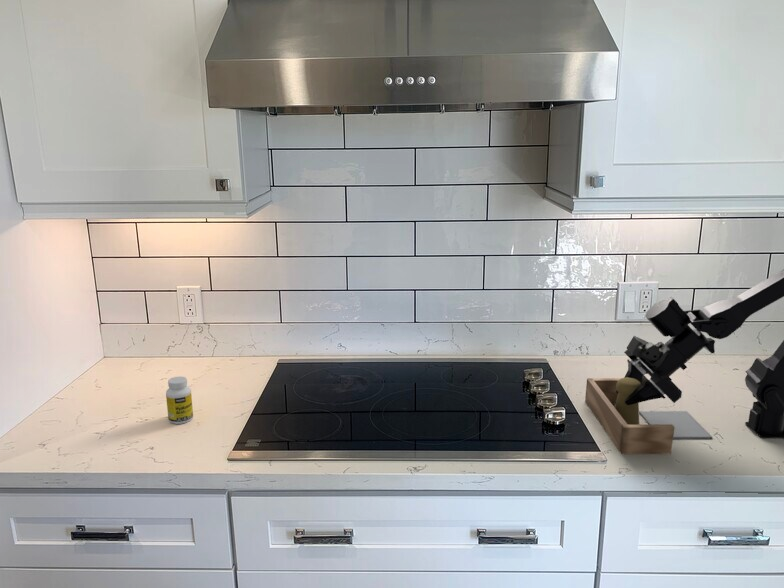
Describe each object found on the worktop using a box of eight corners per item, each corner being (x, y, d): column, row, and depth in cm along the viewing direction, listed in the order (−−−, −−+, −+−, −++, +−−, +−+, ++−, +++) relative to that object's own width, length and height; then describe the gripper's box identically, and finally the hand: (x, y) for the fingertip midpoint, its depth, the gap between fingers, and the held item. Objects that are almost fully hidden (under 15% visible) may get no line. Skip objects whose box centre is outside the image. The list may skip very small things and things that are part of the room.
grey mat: (686, 412, 145) (686, 411, 145) (712, 438, 133) (712, 436, 133) (639, 412, 145) (639, 411, 145) (660, 438, 133) (660, 437, 133)
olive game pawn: (621, 433, 136) (626, 386, 133) (605, 421, 141) (609, 375, 138) (645, 429, 137) (650, 383, 134) (628, 417, 143) (633, 373, 140)
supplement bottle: (176, 427, 139) (172, 386, 136) (164, 419, 143) (159, 380, 140) (198, 418, 143) (194, 379, 140) (185, 411, 146) (181, 372, 144)
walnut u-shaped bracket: (627, 401, 151) (629, 378, 149) (671, 453, 127) (674, 427, 126) (585, 401, 151) (587, 378, 149) (621, 454, 127) (623, 427, 126)
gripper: (637, 312, 142) (584, 358, 145) (673, 341, 124) (612, 392, 127) (667, 345, 144) (615, 389, 147) (707, 377, 126) (647, 427, 129)
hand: (621, 398), depth 137 cm, fingers closed on olive game pawn, 5 cm apart
